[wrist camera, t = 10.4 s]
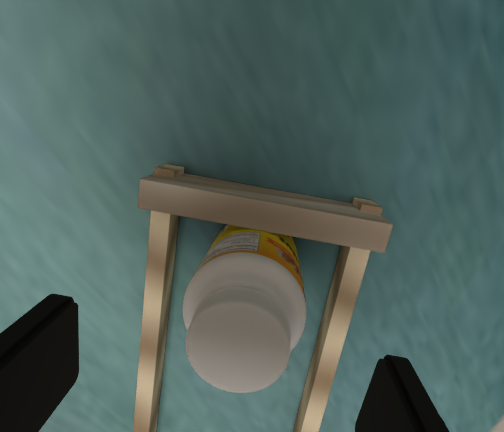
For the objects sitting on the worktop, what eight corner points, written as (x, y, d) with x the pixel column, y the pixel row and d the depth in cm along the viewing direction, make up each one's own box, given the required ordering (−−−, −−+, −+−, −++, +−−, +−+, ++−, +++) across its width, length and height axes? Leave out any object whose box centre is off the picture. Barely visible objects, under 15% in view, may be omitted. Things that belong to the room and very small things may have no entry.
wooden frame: (166, 163, 20) (140, 171, 16) (372, 200, 20) (395, 217, 16) (141, 443, 27) (118, 496, 23) (296, 476, 26) (299, 535, 22)
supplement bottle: (302, 282, 22) (322, 406, 12) (224, 291, 22) (182, 417, 13) (290, 204, 20) (301, 272, 11) (207, 217, 21) (146, 292, 11)
